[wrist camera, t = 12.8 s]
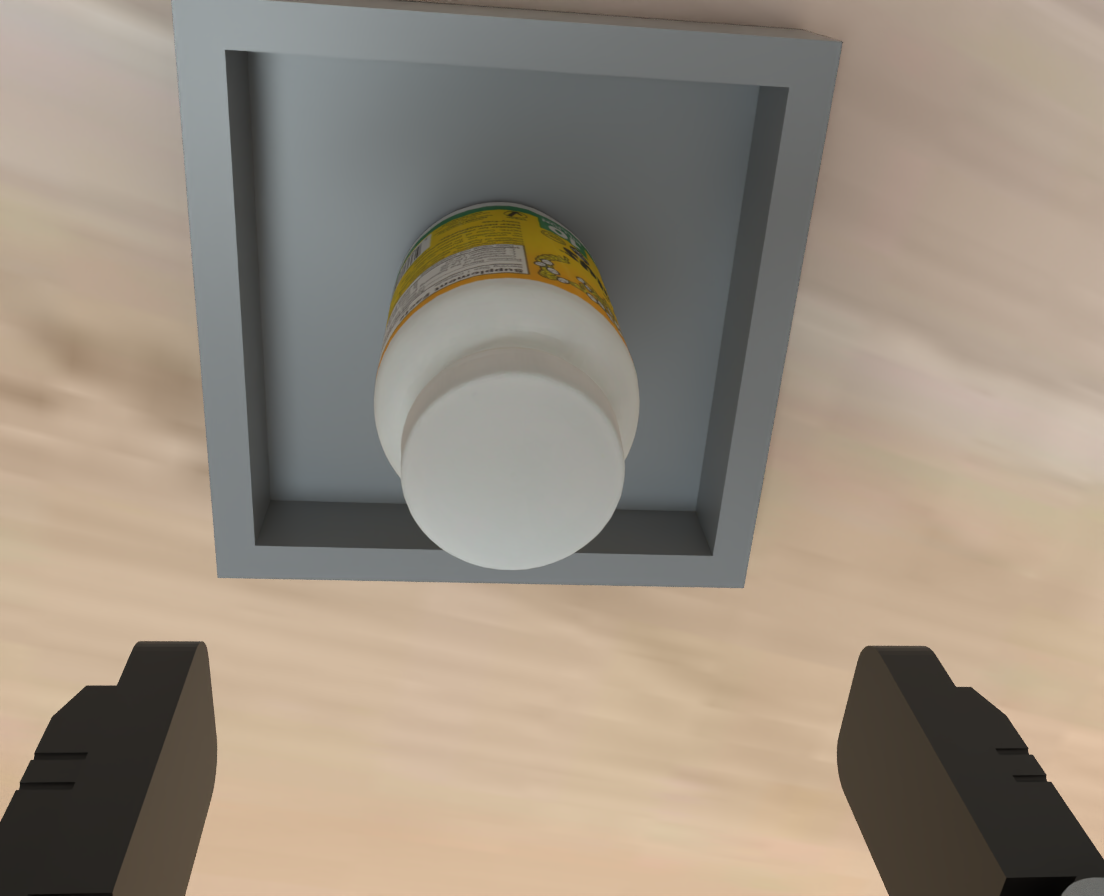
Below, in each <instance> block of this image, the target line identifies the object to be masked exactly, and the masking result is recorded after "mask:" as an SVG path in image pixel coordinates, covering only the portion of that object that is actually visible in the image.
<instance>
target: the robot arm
mask: <svg viewBox="0 0 1104 896" xmlns="http://www.w3.org/2000/svg"><path fill="white" fill-rule="evenodd" d="M216 765H217V736H216V727H215V717H214V707H213V697H212V687H211V677H210V667H209V657H208V651H207V647H206V645H205V643H204V642H188V641H140V642H138V643H136V645H135V646H134V648H133V650H132V652H131V654H130V656H129V659H128V661H127V663H126V666H125V668H124V670H123V673H122V675H121V677H120V680H119V682H118V684H117V686H86V687H84V688H83V689H82V690H81V691H80V692H79V693H78V694H77V695H76V696H75V697H73V698H72V699H71V700H70V701H69V702H68V703H67V704H66V705H65V706H64V707H62V708H61V709H60V710H59V711H58V712H57V713H56V714H55V715H54V716H53V717H52V718H51V720H50V722H49V724H48V726H47V728H46V730H45V732H44V734H43V736H42V739H41V741H40V743H39V745H38V747H37V749H36V751H35V756H34V760H31V761H30V763H29V765H28V767H27V769H26V771H25V773H24V775H23V777H22V779H21V781H20V788H19V790H16V791H15V793H14V795H13V797H12V799H11V801H10V803H9V805H8V807H7V810H6V812H5V814H4V816H3V818H2V820H1V822H0V896H185V894H186V890H187V886H188V882H189V879H190V875H191V871H192V868H193V864H194V860H195V857H196V853H197V849H198V846H199V842H200V838H201V834H202V831H203V827H204V823H205V820H206V816H207V812H208V809H209V805H210V801H211V797H212V793H213V788H214V783H215V775H216ZM837 765H838V773H839V778H840V782H841V786H842V789H843V791H844V794H845V796H846V798H847V801H848V803H849V805H850V807H851V810H852V812H853V814H854V817H855V819H856V821H857V823H858V826H859V828H860V830H861V833H862V835H863V837H864V839H865V842H866V844H867V846H868V849H869V851H870V853H871V855H872V858H873V860H874V862H875V865H876V867H877V869H878V871H879V874H880V876H881V878H882V881H883V883H884V885H885V887H886V890H887V892H888V894H889V896H1104V859H1103V858H1102V856H1101V855H1100V853H1099V852H1098V850H1097V849H1096V847H1095V846H1094V844H1093V843H1092V842H1091V840H1090V839H1089V837H1088V836H1087V834H1086V833H1085V831H1084V830H1083V828H1082V827H1081V825H1080V824H1079V822H1078V821H1077V819H1076V818H1075V816H1074V815H1073V813H1072V812H1071V811H1070V809H1069V808H1068V806H1067V805H1066V803H1065V802H1064V800H1063V799H1062V797H1061V796H1060V794H1059V793H1058V791H1057V790H1056V788H1055V787H1054V785H1053V784H1052V782H1047V780H1046V774H1045V772H1044V771H1043V769H1042V768H1041V766H1040V765H1039V763H1038V762H1037V760H1036V759H1035V757H1034V756H1033V755H1029V753H1028V747H1027V746H1026V744H1025V743H1024V741H1023V740H1022V738H1021V737H1020V735H1019V734H1018V732H1017V731H1016V729H1015V728H1014V726H1013V725H1012V723H1011V722H1010V720H1009V719H1008V718H1007V716H1006V715H1005V714H1004V713H1002V712H1001V711H1000V710H999V709H997V708H996V707H995V706H994V705H993V704H991V703H990V702H989V701H988V700H986V699H985V698H984V697H983V696H981V695H980V694H979V693H978V692H976V691H975V690H974V689H973V688H972V687H956V686H955V685H954V683H953V682H952V680H951V678H950V677H949V675H948V674H947V672H946V671H945V669H944V667H943V666H942V664H941V663H940V661H939V660H938V658H937V657H936V655H935V654H934V652H933V651H932V650H931V649H930V648H928V647H926V646H867V647H865V648H864V649H863V650H862V652H861V653H860V656H859V658H858V662H857V666H856V670H855V674H854V678H853V682H852V686H851V689H850V693H849V697H848V701H847V705H846V709H845V713H844V717H843V721H842V725H841V729H840V733H839V738H838V744H837Z"/></svg>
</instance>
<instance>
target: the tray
mask: <svg viewBox="0 0 1104 896" xmlns="http://www.w3.org/2000/svg"><path fill="white" fill-rule="evenodd" d="M171 2H172V15H173V27H174V39H175V52H176V64H177V77H178V89H179V102H180V114H181V127H182V139H183V152H184V164H185V177H186V189H187V201H188V214H189V226H190V239H191V251H192V264H193V276H194V289H195V301H196V314H197V326H198V338H199V351H200V363H201V376H202V388H203V401H204V413H205V426H206V438H207V451H208V463H209V476H210V488H211V500H212V513H213V525H214V538H215V550H216V563H217V575H218V578H255V579H306V580H357V581H408V582H459V583H510V584H561V585H613V586H664V587H715V588H744V584H745V578H746V573H747V567H748V562H749V556H750V551H751V545H752V539H753V534H754V528H755V523H756V517H757V512H758V506H759V501H760V495H761V490H762V484H763V479H764V473H765V468H766V462H767V457H768V451H769V446H770V440H771V435H772V429H773V424H774V418H775V413H776V407H777V402H778V396H779V390H780V385H781V379H782V374H783V368H784V363H785V357H786V352H787V346H788V341H789V335H790V330H791V324H792V319H793V313H794V308H795V302H796V297H797V291H798V286H799V280H800V275H801V269H802V264H803V258H804V252H805V247H806V241H807V236H808V230H809V225H810V219H811V214H812V208H813V203H814V197H815V192H816V186H817V181H818V175H819V170H820V164H821V159H822V153H823V148H824V142H825V137H826V131H827V126H828V120H829V114H830V109H831V103H832V98H833V92H834V87H835V81H836V76H837V70H838V65H839V59H840V54H841V48H842V43H843V42H842V41H838V40H835V39H832V38H829V37H825V36H822V35H819V34H816V33H812V32H809V31H806V30H802V29H788V28H775V27H761V26H747V25H734V24H720V23H706V22H692V21H679V20H665V19H651V18H637V17H624V16H610V15H596V14H583V13H569V12H555V11H541V10H528V9H514V8H500V7H486V6H473V5H459V4H445V3H431V2H418V1H404V0H171ZM488 202H509V203H516V204H521V205H524V206H527V207H531V208H534V209H536V210H538V211H540V212H542V213H544V214H546V215H548V216H550V217H551V218H553V219H554V220H556V221H557V222H559V223H560V224H561V225H563V226H564V227H566V228H567V229H568V230H569V231H571V232H572V233H573V234H574V235H575V236H576V237H577V238H578V239H579V240H580V241H581V242H582V243H583V245H584V246H585V247H586V249H587V250H588V251H589V253H590V255H591V256H592V258H593V260H594V262H595V264H596V266H597V268H598V270H599V273H600V276H601V278H602V281H603V283H604V286H605V289H606V291H607V294H608V296H609V299H610V302H611V305H612V307H613V310H614V313H615V316H616V319H617V321H618V324H619V327H620V329H621V332H622V335H623V338H624V340H625V343H626V345H627V348H628V350H629V353H630V356H631V358H632V360H633V363H634V366H635V369H636V373H637V379H638V388H639V417H638V424H637V429H636V433H635V437H634V440H633V443H632V446H631V448H630V451H629V453H628V455H627V457H626V459H625V477H624V483H623V489H622V494H621V497H620V499H619V502H618V504H617V507H616V509H615V511H614V513H613V515H612V517H611V518H610V520H609V521H608V523H607V524H606V525H605V527H604V528H603V529H602V531H601V532H600V533H599V534H598V535H597V536H596V537H595V538H594V539H592V540H591V541H590V542H589V543H588V544H586V545H585V546H584V547H582V548H581V549H579V550H578V551H576V552H575V553H573V554H572V555H570V556H568V557H566V558H564V559H561V560H559V561H556V562H554V563H551V564H548V565H545V566H541V567H536V568H531V569H525V570H499V569H492V568H485V567H481V566H477V565H474V564H471V563H468V562H465V561H463V560H461V559H459V558H457V557H455V556H453V555H451V554H449V553H447V552H446V551H444V550H443V549H442V548H440V547H439V546H438V545H436V544H435V543H434V542H433V541H432V540H430V538H429V537H428V536H427V535H426V534H425V533H424V532H423V531H422V530H421V529H420V527H419V526H418V524H417V523H416V521H415V520H414V518H413V516H412V515H411V513H410V510H409V508H408V506H407V503H406V501H405V498H404V495H403V490H402V484H401V478H400V477H399V476H398V474H397V473H396V472H395V470H394V469H393V467H392V466H391V464H390V462H389V460H388V458H387V457H386V455H385V452H384V450H383V448H382V445H381V443H380V439H379V436H378V432H377V428H376V423H375V415H374V392H375V382H376V375H377V370H378V365H379V359H380V355H381V350H382V345H383V339H384V334H385V330H386V325H387V320H388V314H389V309H390V303H391V299H392V295H393V290H394V286H395V283H396V279H397V276H398V272H399V270H400V267H401V265H402V262H403V260H404V258H405V256H406V255H407V253H408V252H409V250H410V248H411V247H412V245H413V244H414V243H415V242H416V240H417V239H418V238H419V237H420V236H421V235H422V234H423V233H424V232H425V231H426V230H427V229H428V228H429V227H431V226H432V225H433V224H435V223H436V222H437V221H439V220H440V219H442V218H443V217H445V216H447V215H449V214H450V213H452V212H455V211H457V210H460V209H463V208H466V207H469V206H472V205H476V204H482V203H488Z"/></svg>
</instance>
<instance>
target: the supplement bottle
mask: <svg viewBox="0 0 1104 896" xmlns="http://www.w3.org/2000/svg"><path fill="white" fill-rule="evenodd" d="M374 415H375V423H376V428H377V432H378V436H379V439H380V443H381V445H382V448H383V450H384V452H385V455H386V457H387V458H388V460H389V462H390V464H391V466H392V467H393V469H394V470H395V472H396V473H397V474H398V476H399V477H400V478H401V484H402V490H403V495H404V498H405V501H406V503H407V506H408V508H409V510H410V513H411V515H412V516H413V518H414V520H415V521H416V523H417V524H418V526H419V527H420V529H421V530H422V531H423V532H424V533H425V534H426V535H427V536H428V537H429V538H430V540H432V541H433V542H434V543H435V544H436V545H438V546H439V547H440V548H442V549H443V550H444V551H446V552H447V553H449V554H451V555H453V556H455V557H457V558H459V559H461V560H463V561H465V562H468V563H471V564H474V565H477V566H481V567H485V568H492V569H499V570H525V569H531V568H536V567H541V566H545V565H548V564H551V563H554V562H556V561H559V560H561V559H564V558H566V557H568V556H570V555H572V554H573V553H575V552H576V551H578V550H579V549H581V548H582V547H584V546H585V545H586V544H588V543H589V542H590V541H591V540H592V539H594V538H595V537H596V536H597V535H598V534H599V533H600V532H601V531H602V529H603V528H604V527H605V525H606V524H607V523H608V521H609V520H610V518H611V517H612V515H613V513H614V511H615V509H616V507H617V504H618V502H619V499H620V497H621V494H622V489H623V483H624V477H625V459H626V457H627V455H628V453H629V451H630V448H631V446H632V443H633V440H634V437H635V433H636V429H637V424H638V417H639V388H638V379H637V373H636V369H635V366H634V363H633V360H632V358H631V356H630V353H629V350H628V348H627V345H626V343H625V340H624V338H623V335H622V332H621V329H620V327H619V324H618V321H617V319H616V316H615V313H614V310H613V307H612V305H611V302H610V299H609V296H608V294H607V291H606V289H605V286H604V283H603V281H602V278H601V276H600V273H599V270H598V268H597V266H596V264H595V262H594V260H593V258H592V256H591V255H590V253H589V251H588V250H587V249H586V247H585V246H584V245H583V243H582V242H581V241H580V240H579V239H578V238H577V237H576V236H575V235H574V234H573V233H572V232H571V231H569V230H568V229H567V228H566V227H564V226H563V225H561V224H560V223H559V222H557V221H556V220H554V219H553V218H551V217H550V216H548V215H546V214H544V213H542V212H540V211H538V210H536V209H534V208H531V207H527V206H524V205H521V204H516V203H509V202H488V203H482V204H476V205H472V206H469V207H466V208H463V209H460V210H457V211H455V212H452V213H450V214H449V215H447V216H445V217H443V218H442V219H440V220H439V221H437V222H436V223H435V224H433V225H432V226H431V227H429V228H428V229H427V230H426V231H425V232H424V233H423V234H422V235H421V236H420V237H419V238H418V239H417V240H416V242H415V243H414V244H413V245H412V247H411V248H410V250H409V252H408V253H407V255H406V256H405V258H404V260H403V262H402V265H401V267H400V270H399V272H398V276H397V279H396V283H395V286H394V290H393V295H392V299H391V303H390V309H389V314H388V320H387V325H386V330H385V334H384V339H383V345H382V350H381V355H380V359H379V365H378V370H377V375H376V382H375V392H374Z"/></svg>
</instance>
